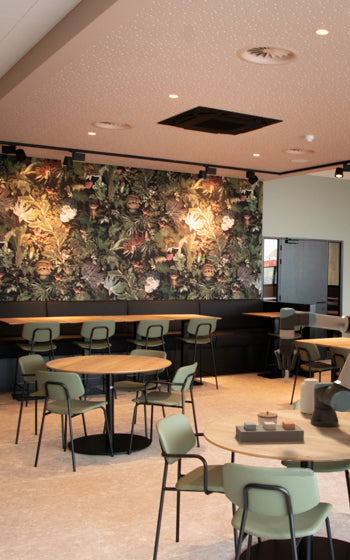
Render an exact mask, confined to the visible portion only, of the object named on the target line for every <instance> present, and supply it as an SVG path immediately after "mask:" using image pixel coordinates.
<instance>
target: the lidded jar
mask: <svg viewBox="0 0 350 560" xmlns="http://www.w3.org/2000/svg"><path fill="white" fill-rule="evenodd" d="M278 417H279V416H278V413H275V412H270V411H268V410H267V411H261V412H258V413H257V423H258V425H263V422H274V423H275V424H276V425H278V424H277V423H278Z"/></svg>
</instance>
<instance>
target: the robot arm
mask: <svg viewBox="0 0 350 560" xmlns="http://www.w3.org/2000/svg"><path fill="white" fill-rule="evenodd" d="M296 327H308V328H309V327H312V328H318V329H319V328H320V329H326V330H334V331H339V332H340V333H344V334H348V335H350V315H342V316H337V315H328V314H321V313H315V312H312V311H300V310H299V311H298V310H295V309H294V308H290V307H285V308H284V307H282V308H280V312H279V337H280V338H279V347H278V349H277V350H274V352H273V353H274V354H275V356H276V360H277V365H278V369H279V370H282V377H284V378H283V383H284V384H289V383H290V382H289V379H290V377H291V371H292V370H295V366H296V363H297V358H298V355H299V354H300V352H299V350H296V348H295V339H294V338H295V328H296ZM280 354H281V355H280ZM292 355H293V356H292ZM281 357H282V361H281ZM349 410H350V352H349V353H348V355H347V358H346V359H345V362H344V365H343V366H342V369H341V371H340V374H339V376H338V378H337V380H335V381H332V382H324V381H323V382H318V383H316V384H315V386H314V411H313V414H311V417H310V424H311V425H313V426H317V427H324V428H332V427H337V426H339V418H338V415H337V412H340V413H345V412H348V411H349Z"/></svg>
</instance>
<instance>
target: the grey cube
mask: <svg viewBox="0 0 350 560" xmlns="http://www.w3.org/2000/svg"><path fill="white" fill-rule="evenodd" d="M243 423H244V424H243V426H244V429H245V430H256V425H257V423H256V422H255V421H244V422H243Z"/></svg>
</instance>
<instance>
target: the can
mask: <svg viewBox="0 0 350 560" xmlns="http://www.w3.org/2000/svg"><path fill="white" fill-rule="evenodd" d="M316 383H319V380H318V379H317V378H311V377H310V378H304V379H303V382H302V383H301V384H300V396H299V397H300V403H299V404H300V405H299V408H300V409H299V410H300V412H301V413H303V414H308V415H312V414H313V411H314V386H315V384H316Z"/></svg>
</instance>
